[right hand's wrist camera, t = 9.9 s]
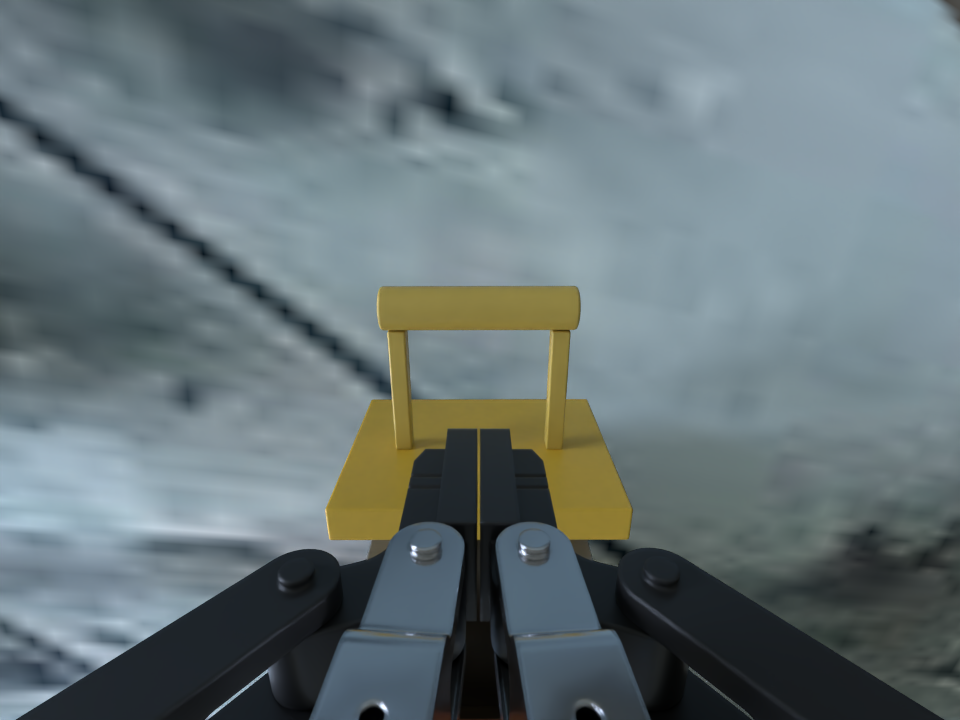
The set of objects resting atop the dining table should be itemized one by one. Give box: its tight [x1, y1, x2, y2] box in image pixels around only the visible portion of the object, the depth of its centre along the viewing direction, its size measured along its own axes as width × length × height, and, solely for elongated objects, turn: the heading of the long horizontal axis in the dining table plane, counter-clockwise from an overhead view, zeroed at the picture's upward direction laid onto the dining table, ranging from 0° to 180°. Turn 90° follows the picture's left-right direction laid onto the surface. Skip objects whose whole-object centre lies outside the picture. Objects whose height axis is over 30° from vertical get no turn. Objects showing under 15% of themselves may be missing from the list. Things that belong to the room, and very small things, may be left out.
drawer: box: [325, 286, 633, 719], centre depth 21 cm, size 25×9×7 cm, turn 0°
